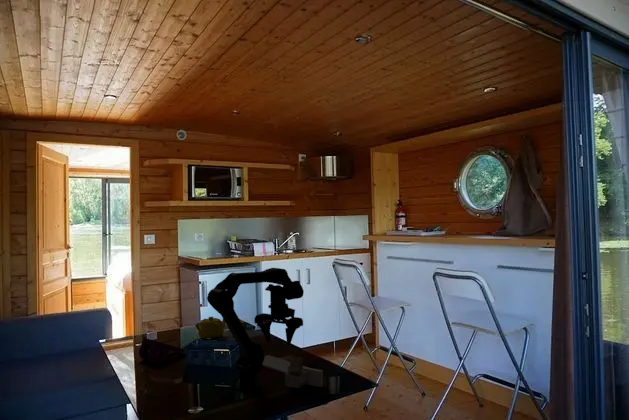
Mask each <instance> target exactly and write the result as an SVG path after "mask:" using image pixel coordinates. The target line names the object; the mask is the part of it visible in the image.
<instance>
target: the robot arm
mask: <svg viewBox="0 0 629 420" xmlns="http://www.w3.org/2000/svg"><path fill="white" fill-rule="evenodd" d="M259 283H260V284H261V283H269V284H268V285H267V286H266V288H265V289H264V290H265V291H267V292H269V294H270V298H269V299H270V301H269V302H270V304H268V309H270V313H263V312H262V313H259V314H256V315H255V317H254V321H253V323H254V324H256V325H257V326H258V327H259V329H260V330H261V332H262V334H263V336H264V338H265V340H266V343H270V342H271V326H272V323H273V324H282V325H285V326H286V327H285V329H284V330H285V337H286V343H287V346H288V347H289V346H290V345H291V343H292V340H293V337H294V334H295V332H296V331H297V330H298V329H300V327H303V326H304V319H302V317H297V316H295V313H296V309H293V308H291V307H289V303H287V301H290V300H291V301H292V300H296V299H297V300H298V299H301V298H303V296H304V289H303V286H302V285H301V282H300V280H292V279H291V278H290V276H289V275H288V271H287V270H286V269H285V268H280V267H270V268H266V269H264V270H262V271H249V272H230V273H228V275H226V277H225V278H224V279H222V280H221V281H220V282H219V283H218V284H216V285H215V286H214V288H212V289H210V290H209V291H208V293H207V297H206V300H207V302H208V304H209V305H210V306H211V307H212V308H213V310H215V311H216V312H217V313H218V314H220V315H221V317H222V320H223V319H224V321H225V325H226V326H227V328H228V329H229V331H230V333H231V335H232V337H233V338H234V340H235V343H237V345H238V353H239V357H238V359H237V360H236V362H235V363H234V367H235V369H236V370H237V371H239V372H238V373H239V374H238V376H239V377H238V383H239V384H238V386H237V387H236V388H235V390H236V391H240V392H243V393H249V394H250V393H253V392H254V391H256V390H258V389H260V388H261V387H262V385H260V384H258V383H259V379H258V378H259V376H258V375H259V374H260V373H261V371H262V367H263V366H262V364H263V361H264V358H265V356H266V355H265V352H266V351H265V350H263V348H262V345H261V344H260V343H259V342H258V341H255V340H251V338H250V336H249V334H248V332H247V330H246V329H245V326H244V325H243V324H242V322H241V319H240V318H239V316H238V314H237V313H236V310H235V301H234V297H235V296H236V294H237V293H238V289H239V287H240V286H241V285H245V284H247V285H249V284H259ZM275 284H276V285H275ZM258 373H259V374H258Z"/></svg>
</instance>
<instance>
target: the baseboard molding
mask: <svg viewBox="0 0 629 420" xmlns="http://www.w3.org/2000/svg"><path fill="white" fill-rule="evenodd" d="M264 356H265V358H264V361H263V364H262V367H263V366H264V367H263V368H267V369H269V370H273V371H276V372H279V373H280V374H284V375H285V374H286V373H288V365H290V360H286V359H283V358H279V357H276V356H273V355H268V354H267V355H264ZM303 367H307V368H310V367H308V366H305V365H303Z"/></svg>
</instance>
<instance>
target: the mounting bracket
mask: <svg viewBox="0 0 629 420" xmlns="http://www.w3.org/2000/svg"><path fill="white" fill-rule="evenodd" d="M170 352H174V353H177V354H181V355H184V354H183V352H184V353H185V351H184V348H181V347H178V346H174V345H171V344H167V343H164V342H161V341H157V340H153V339H149V338H146V337H143V339H142V342H141V344H140V347H139V350H138V355H139V358H140V359H142V360H144V361H146V362H148V361H149V362H151V363H153V364H155V365H158V364H162V363H164V362H165V360H166V359H167V358H168V355H169V353H170Z"/></svg>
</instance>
